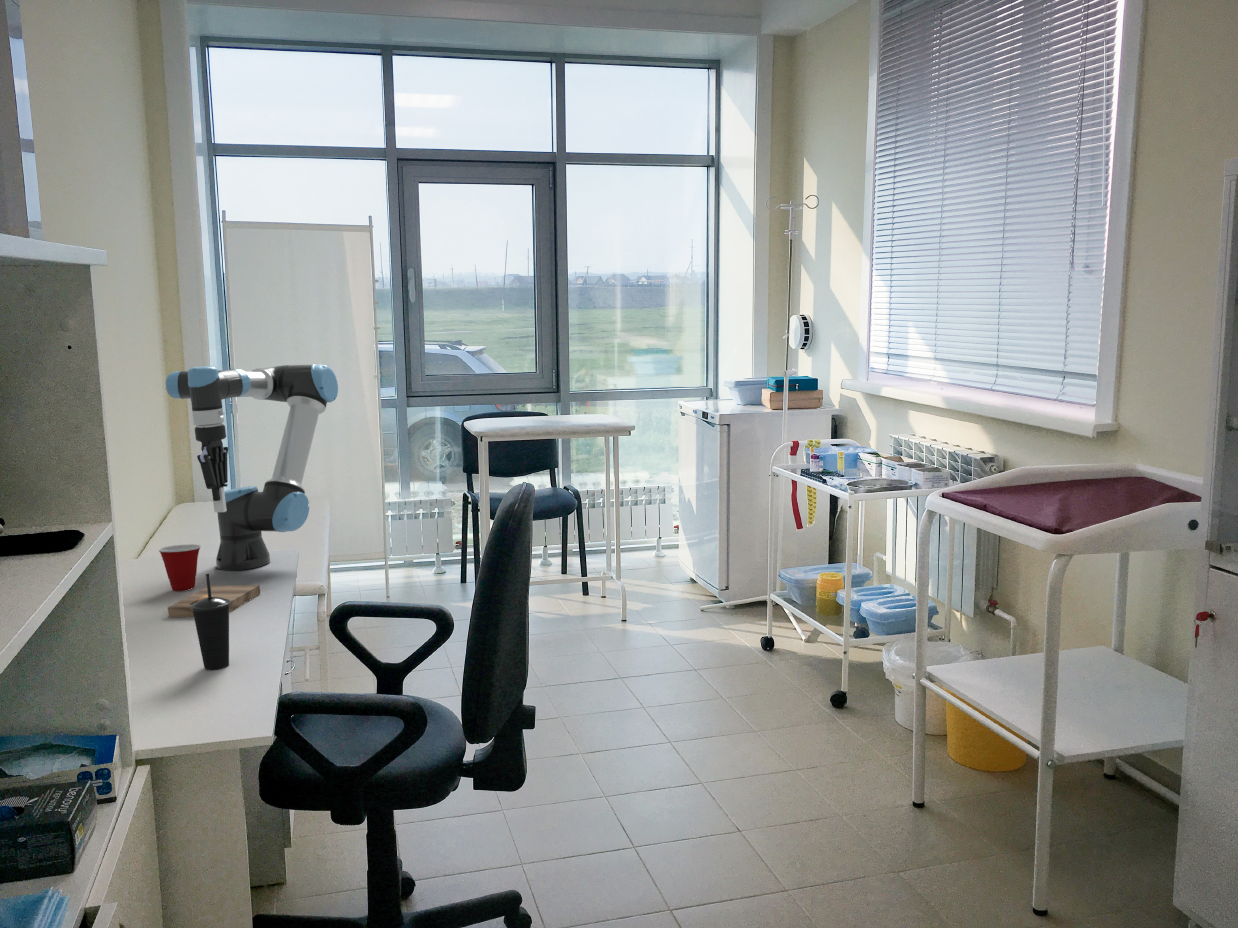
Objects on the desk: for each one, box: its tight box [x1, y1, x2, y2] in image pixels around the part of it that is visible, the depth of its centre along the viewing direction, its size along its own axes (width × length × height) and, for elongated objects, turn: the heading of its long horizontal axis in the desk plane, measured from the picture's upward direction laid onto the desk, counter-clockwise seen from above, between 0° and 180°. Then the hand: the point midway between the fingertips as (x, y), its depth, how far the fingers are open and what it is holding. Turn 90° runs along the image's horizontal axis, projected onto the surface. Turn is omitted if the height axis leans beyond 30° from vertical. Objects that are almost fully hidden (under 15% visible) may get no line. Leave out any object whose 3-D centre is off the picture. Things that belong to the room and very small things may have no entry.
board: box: [167, 584, 261, 618], centre depth 252 cm, size 20×14×2 cm
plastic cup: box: [157, 543, 202, 592], centre depth 269 cm, size 11×11×12 cm
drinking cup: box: [191, 573, 230, 671], centre depth 205 cm, size 8×8×20 cm
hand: (220, 511), depth 265 cm, fingers closed
